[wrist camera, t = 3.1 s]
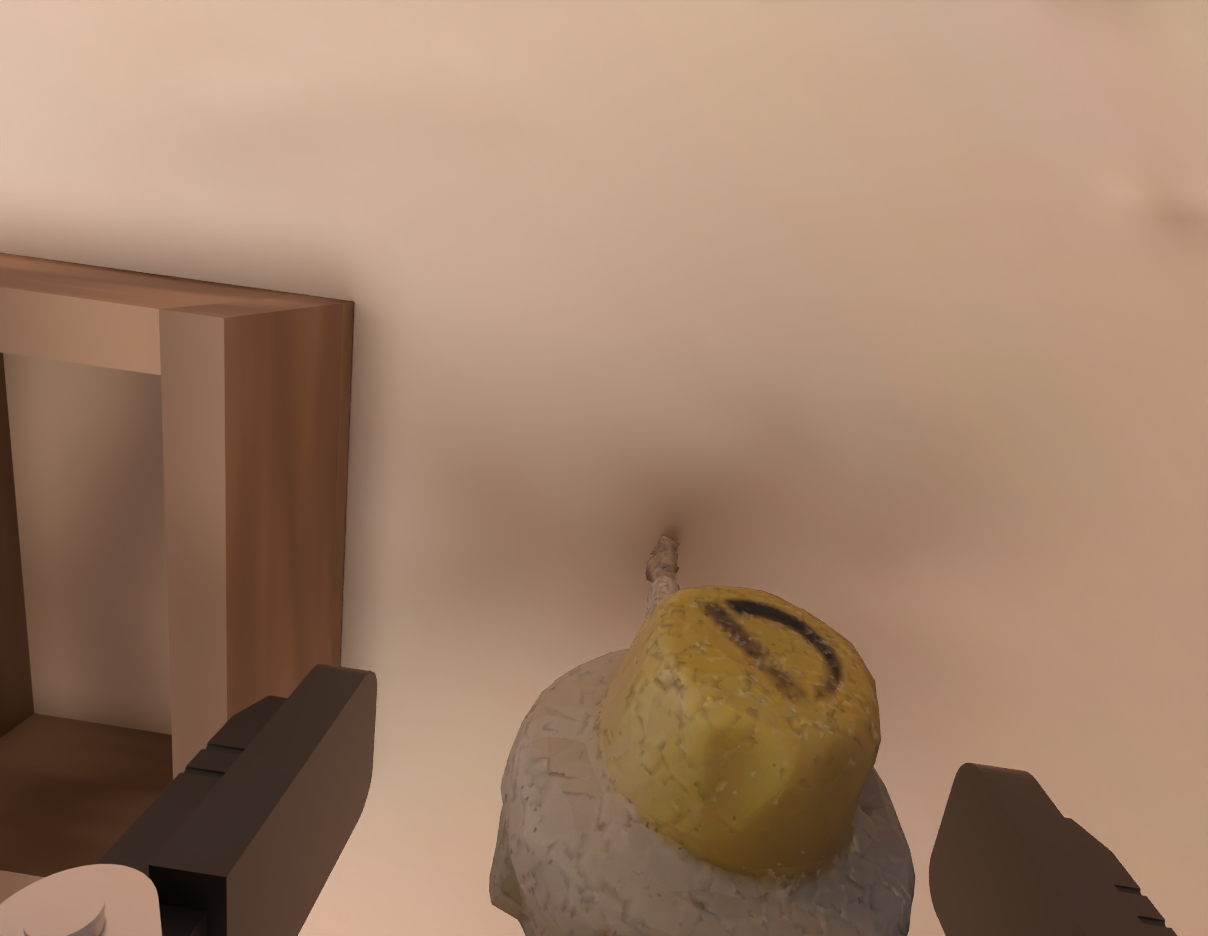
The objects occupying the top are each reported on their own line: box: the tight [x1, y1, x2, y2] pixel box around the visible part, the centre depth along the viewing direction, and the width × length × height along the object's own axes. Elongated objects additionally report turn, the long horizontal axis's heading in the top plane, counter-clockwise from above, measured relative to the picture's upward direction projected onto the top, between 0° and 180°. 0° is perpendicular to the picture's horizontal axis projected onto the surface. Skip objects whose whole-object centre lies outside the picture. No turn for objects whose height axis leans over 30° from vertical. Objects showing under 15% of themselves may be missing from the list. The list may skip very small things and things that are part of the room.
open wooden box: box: [0, 253, 354, 904], centre depth 15 cm, size 8×12×5 cm
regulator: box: [489, 536, 915, 936], centre depth 10 cm, size 8×4×15 cm, turn 167°
